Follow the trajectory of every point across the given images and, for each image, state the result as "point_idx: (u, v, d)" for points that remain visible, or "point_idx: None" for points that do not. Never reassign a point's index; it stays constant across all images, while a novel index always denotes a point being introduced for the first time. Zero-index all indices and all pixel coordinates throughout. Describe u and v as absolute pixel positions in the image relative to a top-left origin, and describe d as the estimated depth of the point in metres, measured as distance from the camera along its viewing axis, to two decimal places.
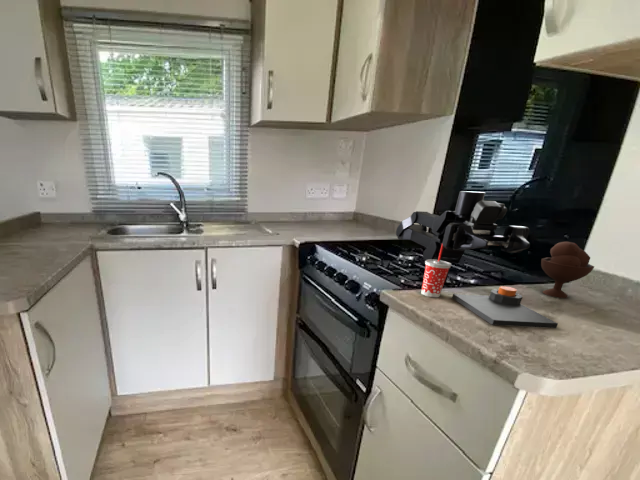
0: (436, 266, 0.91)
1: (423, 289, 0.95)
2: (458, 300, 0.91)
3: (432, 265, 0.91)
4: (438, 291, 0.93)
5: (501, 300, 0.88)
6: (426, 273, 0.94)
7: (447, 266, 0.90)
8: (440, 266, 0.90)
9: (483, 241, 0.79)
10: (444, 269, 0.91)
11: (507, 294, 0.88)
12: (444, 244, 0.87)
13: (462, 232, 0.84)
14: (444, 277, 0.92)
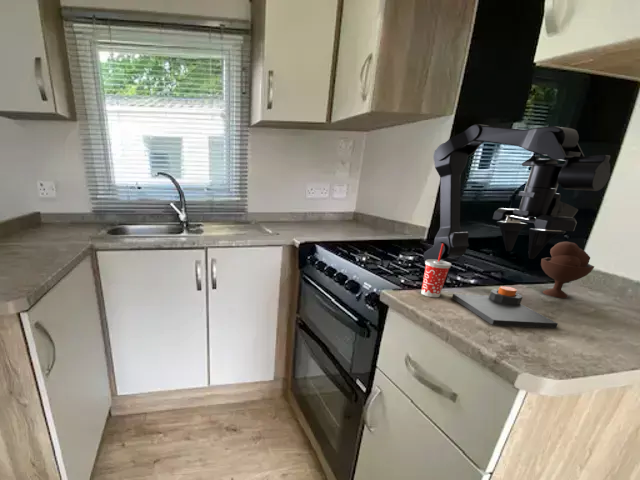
0: (436, 266, 0.91)
1: (423, 289, 0.95)
2: (458, 300, 0.91)
3: (432, 265, 0.91)
4: (438, 291, 0.93)
5: (501, 300, 0.88)
6: (426, 273, 0.94)
7: (447, 266, 0.90)
8: (440, 266, 0.90)
9: (535, 255, 0.82)
10: (444, 269, 0.91)
11: (507, 294, 0.88)
12: (552, 225, 0.75)
13: (554, 233, 0.78)
14: (444, 277, 0.92)
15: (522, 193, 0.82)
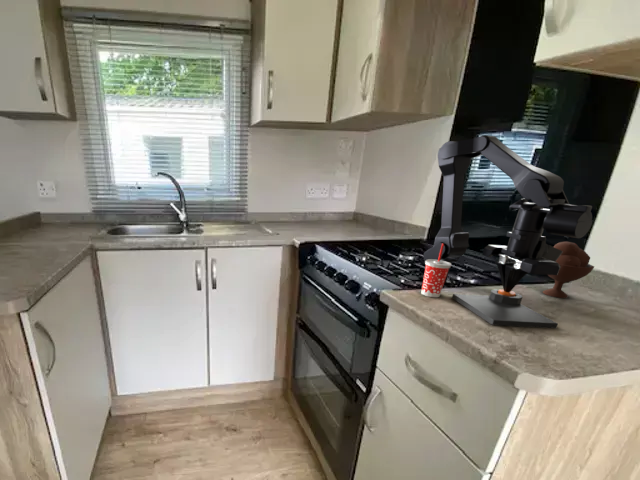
0: (436, 266, 0.91)
1: (423, 289, 0.95)
2: (458, 300, 0.91)
3: (432, 265, 0.91)
4: (438, 291, 0.93)
5: (501, 300, 0.88)
6: (426, 273, 0.94)
7: (447, 266, 0.90)
8: (440, 266, 0.90)
9: (511, 289, 0.89)
10: (444, 269, 0.91)
11: None
12: (537, 270, 0.78)
13: None
14: (444, 277, 0.92)
15: (510, 234, 0.86)
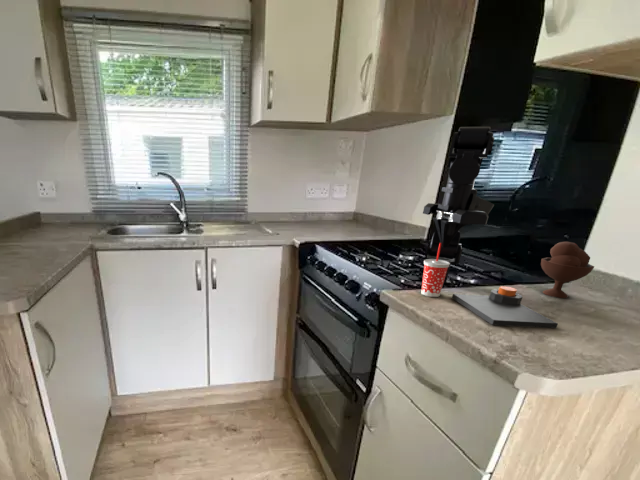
0: (434, 266, 0.91)
1: (423, 289, 0.95)
2: (458, 300, 0.91)
3: (431, 265, 0.92)
4: (438, 290, 0.93)
5: (501, 300, 0.88)
6: (425, 273, 0.94)
7: (446, 265, 0.90)
8: (438, 266, 0.90)
9: (447, 244, 0.91)
10: (443, 268, 0.91)
11: (507, 294, 0.88)
12: (466, 219, 0.80)
13: (461, 223, 0.87)
14: (443, 276, 0.92)
15: (444, 189, 0.87)
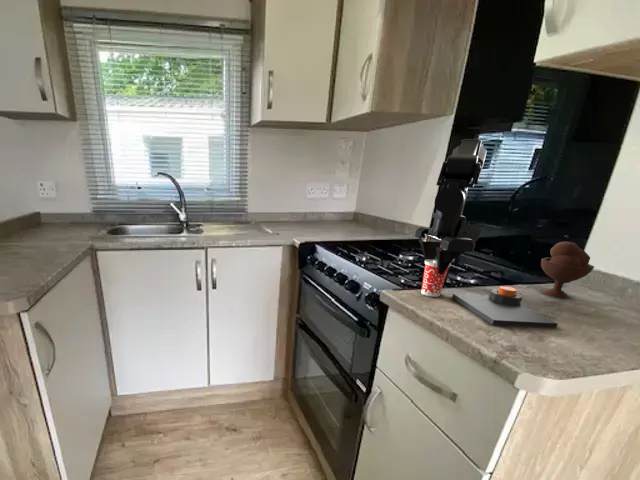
0: (435, 265, 0.91)
1: (423, 289, 0.95)
2: (458, 300, 0.91)
3: (432, 265, 0.92)
4: (438, 291, 0.93)
5: (501, 300, 0.88)
6: (426, 273, 0.94)
7: None
8: None
9: (443, 271, 0.90)
10: None
11: (507, 294, 0.88)
12: (453, 246, 0.82)
13: None
14: (444, 276, 0.92)
15: (434, 215, 0.90)
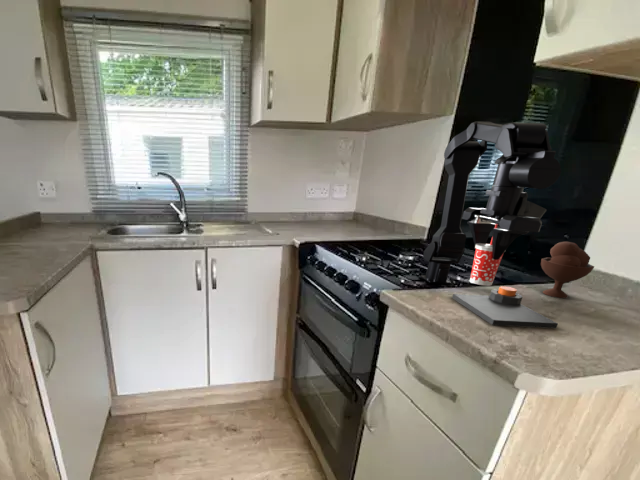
0: (490, 249, 0.80)
1: (473, 277, 0.84)
2: (458, 300, 0.91)
3: (485, 249, 0.81)
4: (491, 279, 0.82)
5: (501, 300, 0.88)
6: (477, 258, 0.83)
7: None
8: None
9: (499, 256, 0.79)
10: None
11: (507, 294, 0.88)
12: (516, 226, 0.71)
13: None
14: (498, 262, 0.81)
15: (489, 192, 0.79)
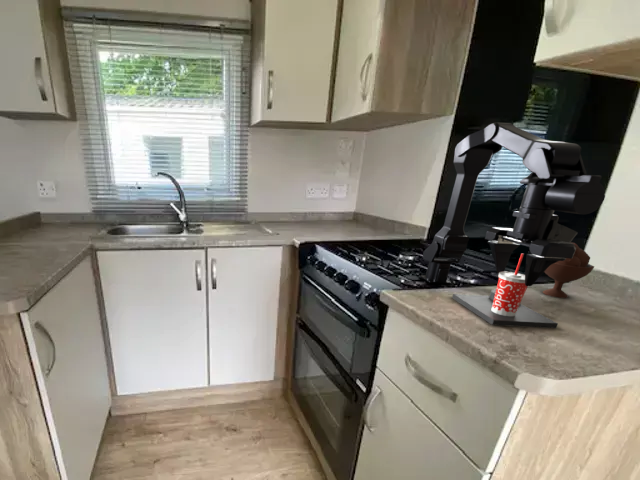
0: (515, 280, 0.77)
1: (495, 306, 0.82)
2: (458, 300, 0.91)
3: (509, 279, 0.78)
4: (514, 309, 0.80)
5: None
6: (500, 288, 0.80)
7: None
8: (520, 280, 0.77)
9: (532, 283, 0.74)
10: (524, 284, 0.77)
11: None
12: (549, 252, 0.68)
13: None
14: (523, 293, 0.78)
15: (516, 213, 0.75)
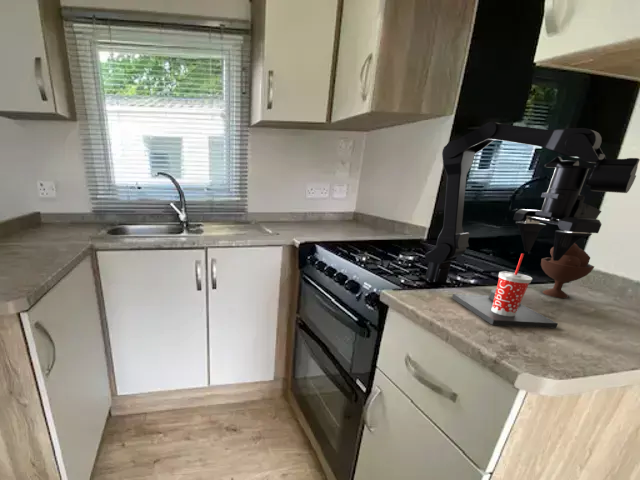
0: (515, 280, 0.77)
1: (495, 306, 0.82)
2: (458, 300, 0.91)
3: (509, 279, 0.78)
4: (514, 309, 0.80)
5: None
6: (500, 288, 0.80)
7: (528, 280, 0.77)
8: (520, 280, 0.77)
9: (560, 257, 0.82)
10: (524, 284, 0.77)
11: None
12: (577, 227, 0.75)
13: None
14: (523, 293, 0.78)
15: (545, 194, 0.83)
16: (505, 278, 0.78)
